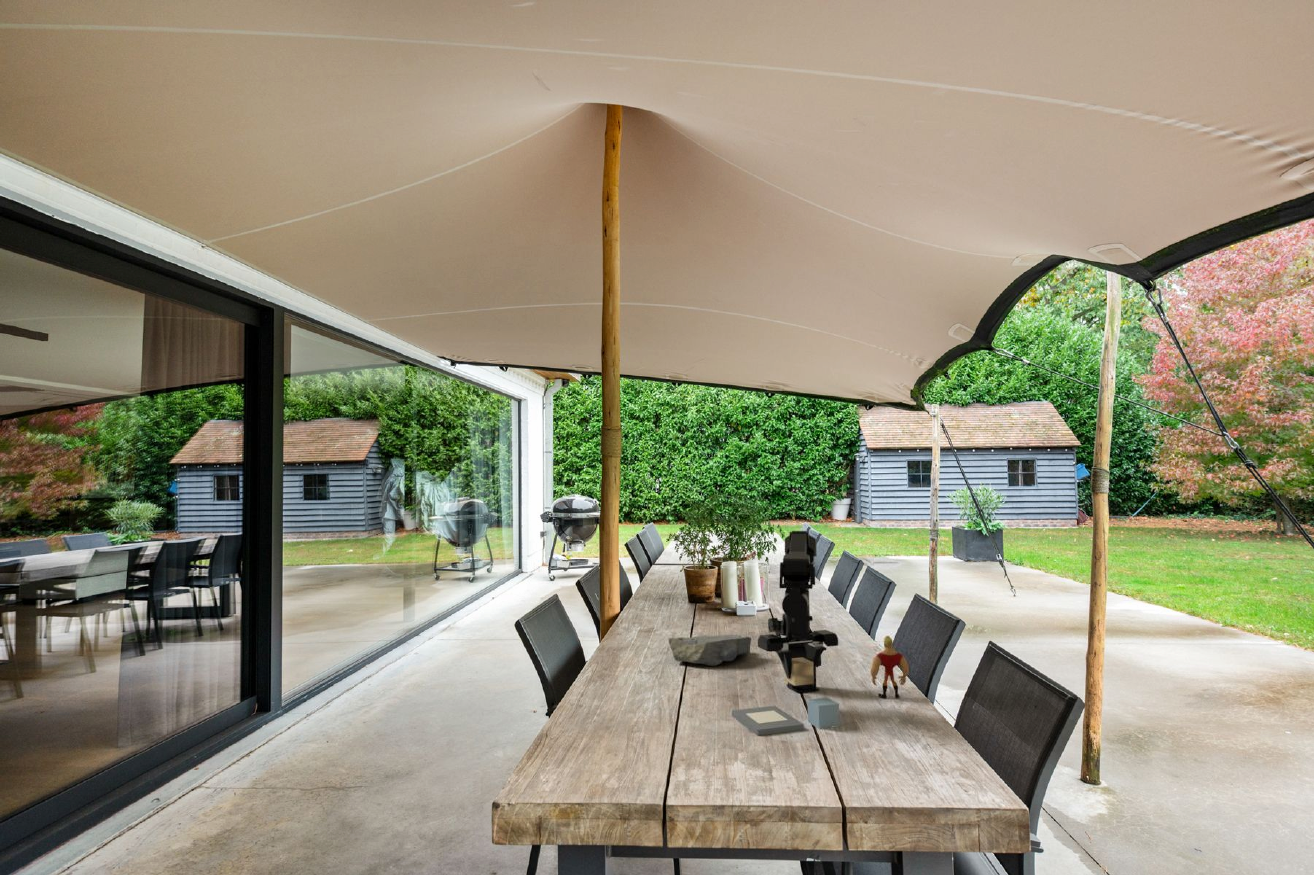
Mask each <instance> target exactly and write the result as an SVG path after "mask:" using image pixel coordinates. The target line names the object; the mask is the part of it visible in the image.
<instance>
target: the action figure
mask: <svg viewBox="0 0 1314 875" xmlns="http://www.w3.org/2000/svg"><path fill="white" fill-rule="evenodd" d="M883 639H884V640H883V648H884V650H883V651H881V652H878V654H876V656H875V657H874V658H873V659H872V663H871V669H870V675H871V677H872V679H871V681H872V684H873V685H874V686H876V687H877V686H878V685H877V683H876V680H877V679H878V678H877V675H878V674H879V671H880V666H882V667H884V678H883V679H884V680H883V683H882V693H878V694H877V696H878V697H879V698H883V699H887V698H888V696H887V690H888V680H889V678H890V680H891V683H892V688H893V689H894V698H896V699H898V698H900V694H899V686H898V683H897V682H896V681H895V677H894V676H895V675H894V668H895V667H896V666H900V669H901V671H902V675H899V676H898V677H897V678H898V679H899V681H898V682H899V685H900V686H904V685H906V683H907V676H908V675H909V670H910V669H909V665H908V662H907V659H906V658H905V656H904V655H903V654H901V653H900V652H897V650H895V649H894V648H893V647H894V643H893V639H892V638H891V637H890V636H889V635H886V636H885V637H884V638H883Z"/></svg>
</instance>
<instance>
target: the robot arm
mask: <svg viewBox="0 0 1314 875" xmlns="http://www.w3.org/2000/svg"><path fill="white" fill-rule="evenodd" d="M817 556H818V552H817V539H816V537H815V536H814V537H813V536H812V535H810V533H809V531H807V530H792V531H789V535H788V536H786V537H785V538H784V555H783V558H782V562H780V564H779V589H785V590H784V597H783V600H782V601H781V607H782V610H783V613H782V618H781V620H779V619H778V617H772V618H771V617H770V618H768V619H767V629H768V631H769V633H771V634H760V636H759V637H758V639H757V648H759V649H761V650H763V651H766V652H771V653H772V652H773V653H774V652H775V653H776V654H777V656H778V658H779V659H780V662H781V665H782V668H783V671H784V674H785V673H786V676H787V678H788V679H790V678H791V670H792V658H802V657H803V658H805V659H807V660H810V661H812V662H813V672H814V684H807V685H798V686H794V685H792V684H790V683H789V682H787V684H786V686H785V687H787V688H788V689H791V691H794V692H796V693H799V694H800V693H807V692H808V693H809V692H816V691H820V690H821V689H820V687H818V686H817V668H819V667H821V666H822V654H823V652H824V651H827V647H837V646H839V637H838V635H837V634H836V633H835V632H834V631H830V630H827V629H820V630H812V628H811V622H813V615H811V614H810V613H811V611H810V610H811V609H810V590H812V589H813V586H815V585H816V567H815V566H814V565H815V557H816V558H817ZM773 633H775V634H773ZM824 645H825V646H824Z"/></svg>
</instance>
